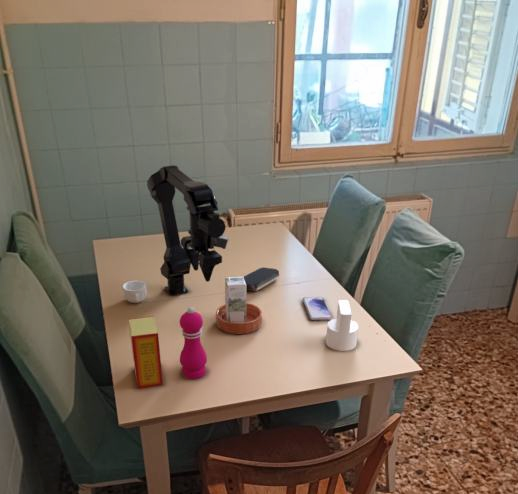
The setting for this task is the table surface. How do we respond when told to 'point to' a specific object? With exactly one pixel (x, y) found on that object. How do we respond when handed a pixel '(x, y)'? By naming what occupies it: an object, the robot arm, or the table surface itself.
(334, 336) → the cylinder with rectangular tab
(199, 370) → the pepper mill
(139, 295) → the teacup
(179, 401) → the table surface
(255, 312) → the bowl
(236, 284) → the syrup box
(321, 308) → the smartphone
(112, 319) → the table surface
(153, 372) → the baking soda box
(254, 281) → the black sponge
